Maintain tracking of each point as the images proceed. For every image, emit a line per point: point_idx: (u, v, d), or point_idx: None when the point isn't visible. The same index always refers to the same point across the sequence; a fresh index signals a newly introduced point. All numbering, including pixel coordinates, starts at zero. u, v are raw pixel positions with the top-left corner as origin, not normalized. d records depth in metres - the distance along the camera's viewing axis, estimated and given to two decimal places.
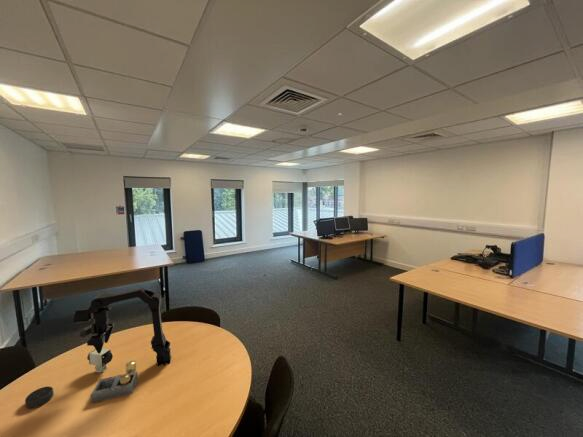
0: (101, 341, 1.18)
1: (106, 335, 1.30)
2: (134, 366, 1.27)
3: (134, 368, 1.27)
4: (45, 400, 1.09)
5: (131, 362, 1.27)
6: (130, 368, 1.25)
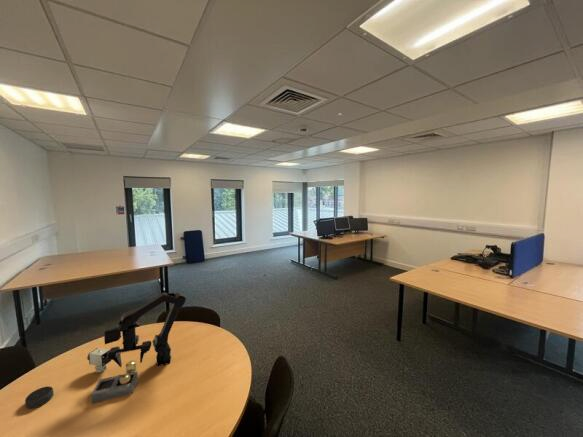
0: (107, 357, 1.20)
1: None
2: (134, 366, 1.27)
3: (134, 368, 1.27)
4: (45, 400, 1.09)
5: (131, 362, 1.27)
6: (130, 368, 1.25)
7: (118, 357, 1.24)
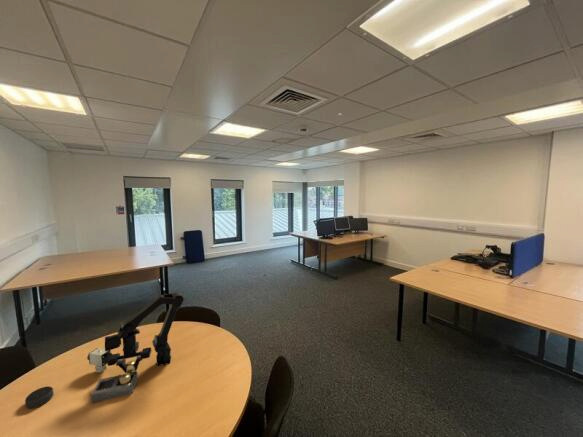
0: (107, 364, 1.21)
1: None
2: (134, 366, 1.27)
3: (134, 368, 1.27)
4: (45, 400, 1.09)
5: (131, 362, 1.27)
6: (130, 368, 1.25)
7: (123, 363, 1.25)
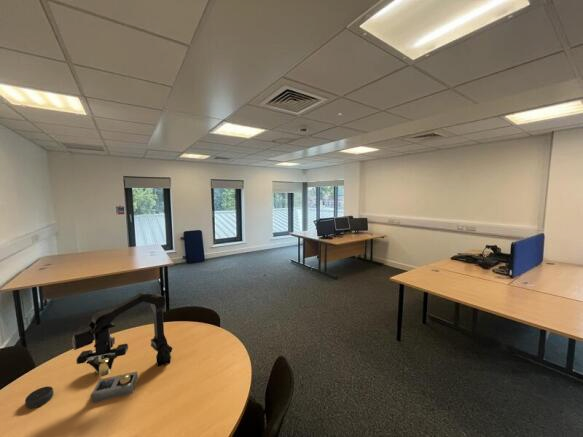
0: (77, 362, 1.08)
1: None
2: (108, 364, 1.14)
3: (108, 366, 1.14)
4: (45, 400, 1.09)
5: (105, 360, 1.15)
6: (102, 366, 1.12)
7: (95, 361, 1.12)
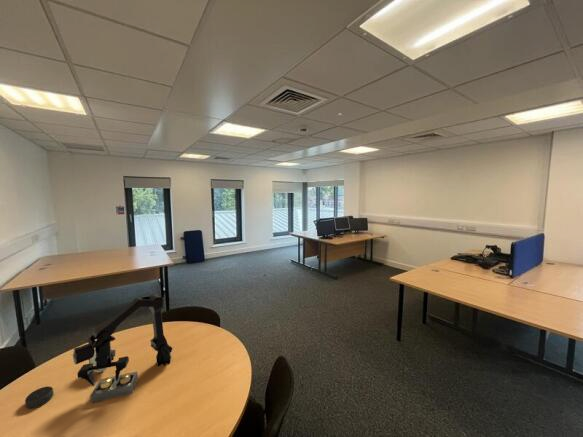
0: (78, 376, 1.08)
1: None
2: (109, 384, 1.15)
3: (109, 386, 1.15)
4: (45, 400, 1.09)
5: (106, 379, 1.15)
6: (104, 386, 1.13)
7: (90, 375, 1.11)
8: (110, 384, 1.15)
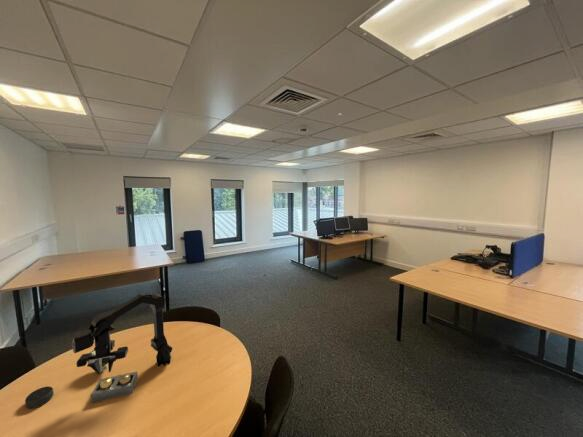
0: (77, 365, 1.08)
1: None
2: (109, 384, 1.15)
3: (109, 386, 1.15)
4: (45, 400, 1.09)
5: (106, 379, 1.15)
6: (104, 386, 1.13)
7: (96, 363, 1.12)
8: (110, 384, 1.15)
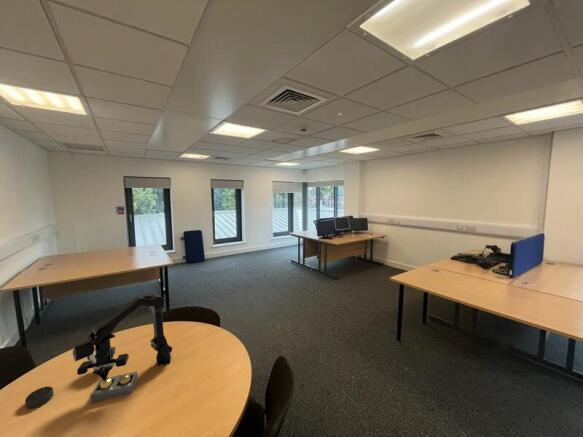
0: (77, 373, 1.08)
1: None
2: (109, 384, 1.15)
3: (109, 386, 1.15)
4: (45, 400, 1.09)
5: None
6: (104, 386, 1.13)
7: (102, 370, 1.13)
8: (110, 384, 1.15)
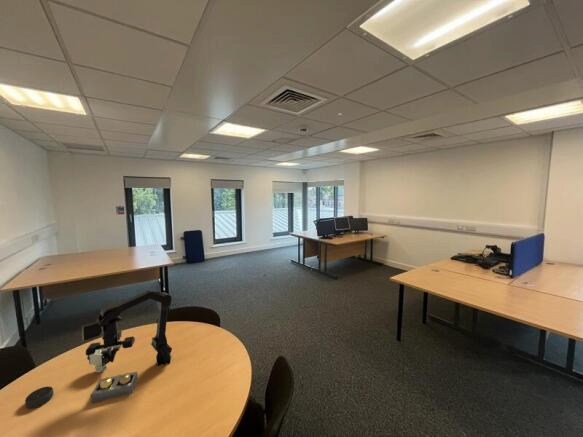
0: (86, 353, 1.12)
1: None
2: (109, 384, 1.15)
3: (109, 386, 1.15)
4: (45, 400, 1.09)
5: (106, 379, 1.15)
6: (104, 386, 1.13)
7: (109, 351, 1.17)
8: (110, 384, 1.15)
